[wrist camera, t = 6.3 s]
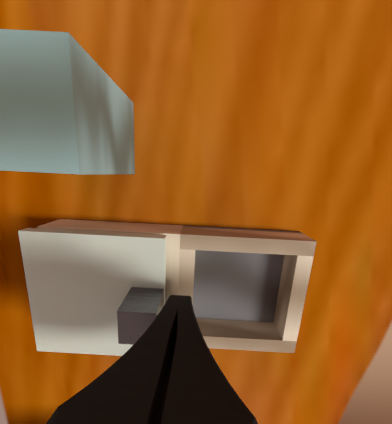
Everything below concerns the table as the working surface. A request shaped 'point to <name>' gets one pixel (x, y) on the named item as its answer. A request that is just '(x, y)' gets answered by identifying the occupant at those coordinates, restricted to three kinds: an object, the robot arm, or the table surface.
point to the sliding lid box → (231, 279)
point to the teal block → (60, 108)
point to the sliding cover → (92, 288)
